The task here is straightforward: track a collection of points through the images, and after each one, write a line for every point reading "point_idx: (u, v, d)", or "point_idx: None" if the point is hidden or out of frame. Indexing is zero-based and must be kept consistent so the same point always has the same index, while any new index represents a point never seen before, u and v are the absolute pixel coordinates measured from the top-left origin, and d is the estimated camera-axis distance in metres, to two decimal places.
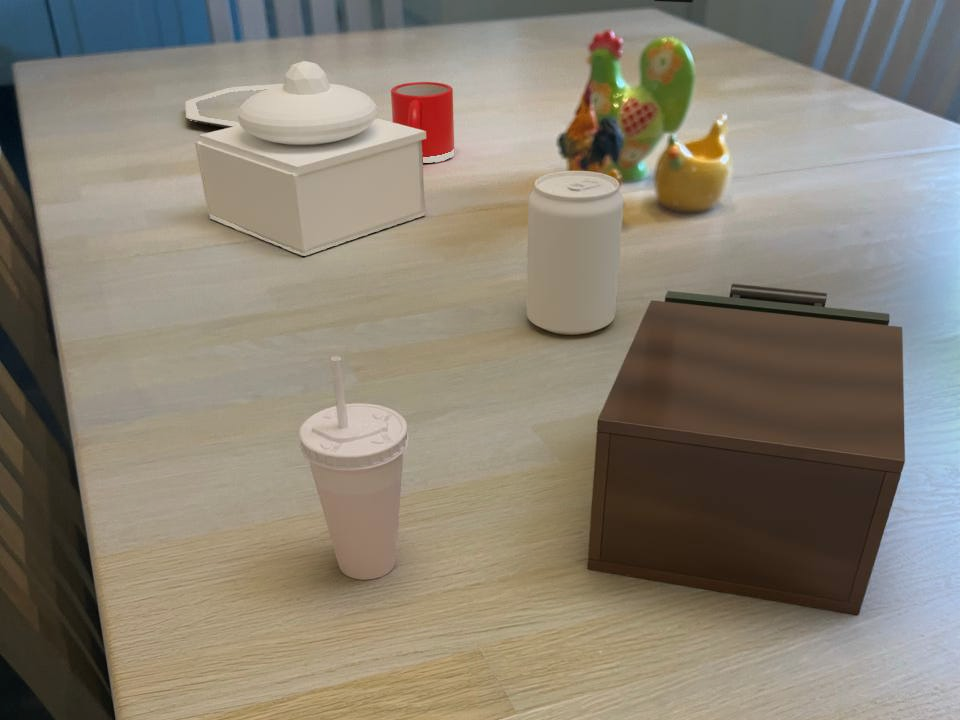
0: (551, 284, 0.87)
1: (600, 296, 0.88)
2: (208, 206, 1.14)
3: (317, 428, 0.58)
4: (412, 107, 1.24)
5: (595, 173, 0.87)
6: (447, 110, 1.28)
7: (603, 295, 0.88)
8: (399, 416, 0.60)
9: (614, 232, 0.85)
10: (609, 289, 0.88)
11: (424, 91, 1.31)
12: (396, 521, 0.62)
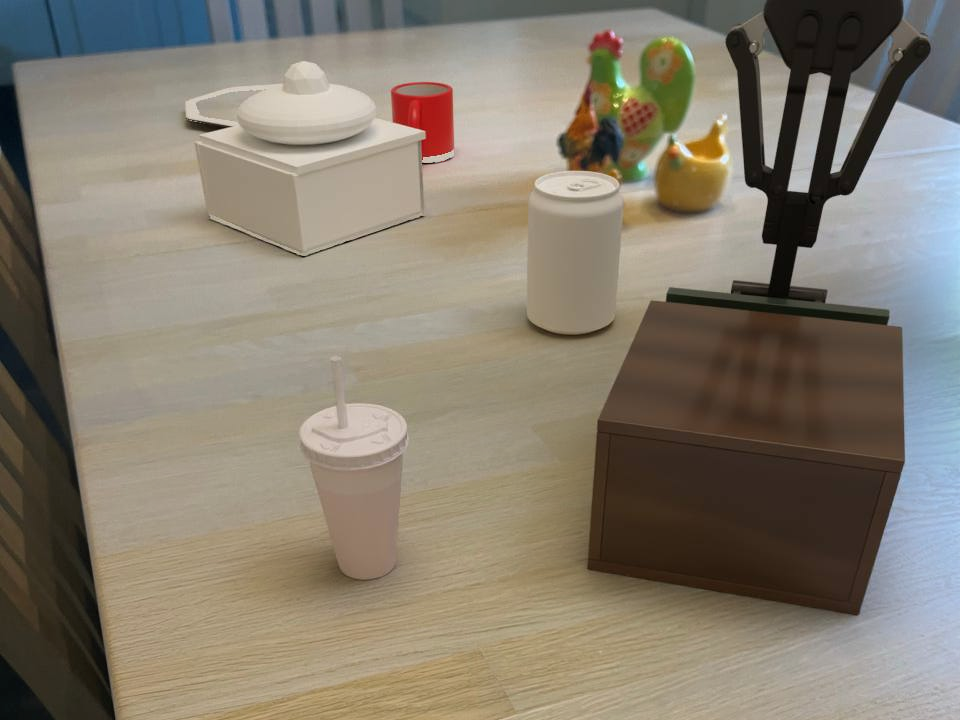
0: (551, 284, 0.87)
1: (600, 296, 0.88)
2: (207, 206, 1.14)
3: (317, 428, 0.58)
4: (412, 107, 1.24)
5: (595, 173, 0.87)
6: (447, 110, 1.28)
7: (603, 295, 0.88)
8: (399, 416, 0.60)
9: (614, 232, 0.85)
10: (609, 289, 0.88)
11: (424, 91, 1.31)
12: (396, 521, 0.62)
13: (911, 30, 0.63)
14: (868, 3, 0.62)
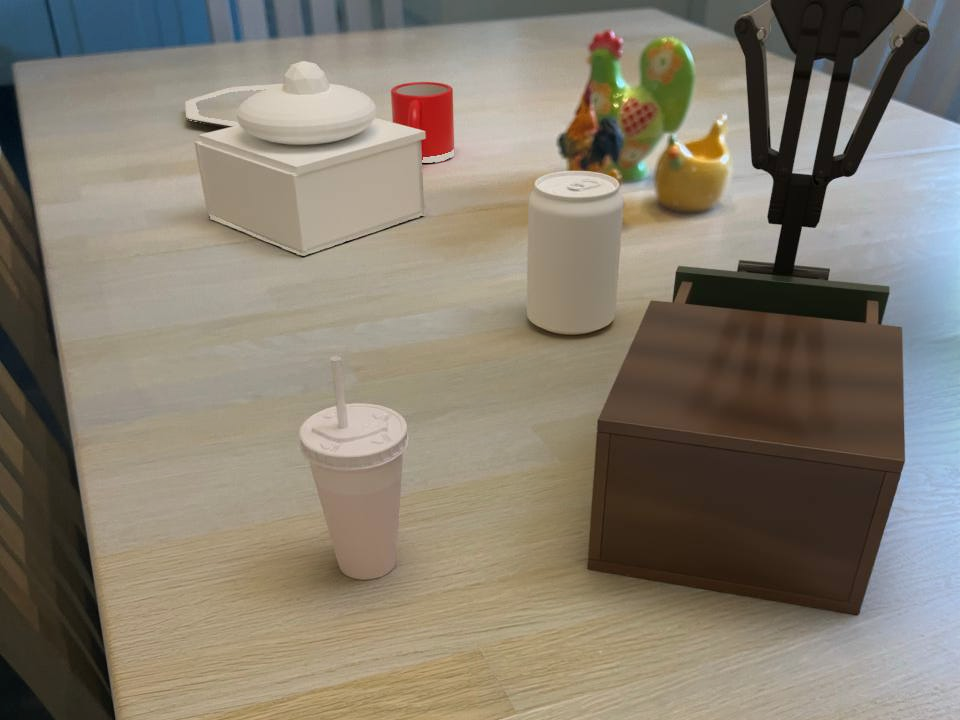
0: (551, 284, 0.87)
1: (600, 296, 0.88)
2: (207, 206, 1.14)
3: (317, 428, 0.58)
4: (412, 107, 1.24)
5: (595, 173, 0.87)
6: (447, 110, 1.28)
7: (603, 295, 0.88)
8: (399, 416, 0.60)
9: (614, 233, 0.85)
10: (609, 289, 0.88)
11: (424, 91, 1.31)
12: (396, 521, 0.62)
13: (911, 18, 0.66)
14: None
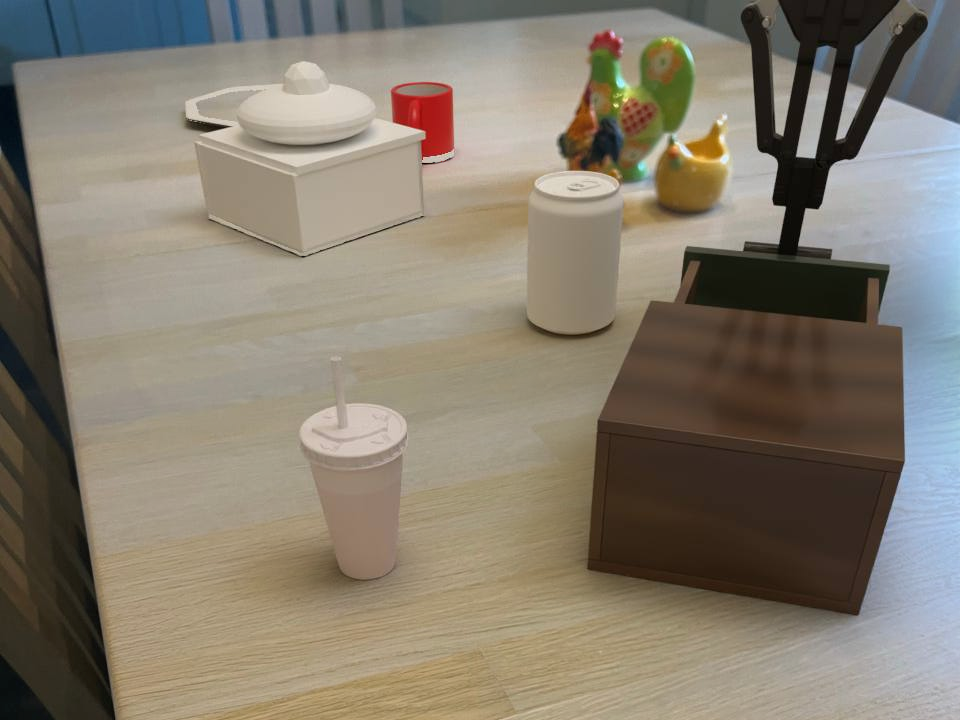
0: (551, 284, 0.87)
1: (600, 296, 0.88)
2: (207, 206, 1.14)
3: (317, 428, 0.58)
4: (412, 107, 1.24)
5: (595, 173, 0.87)
6: (447, 110, 1.28)
7: (603, 295, 0.88)
8: (399, 416, 0.60)
9: (614, 232, 0.85)
10: (609, 289, 0.88)
11: (424, 91, 1.31)
12: (396, 521, 0.62)
13: (910, 6, 0.69)
14: None
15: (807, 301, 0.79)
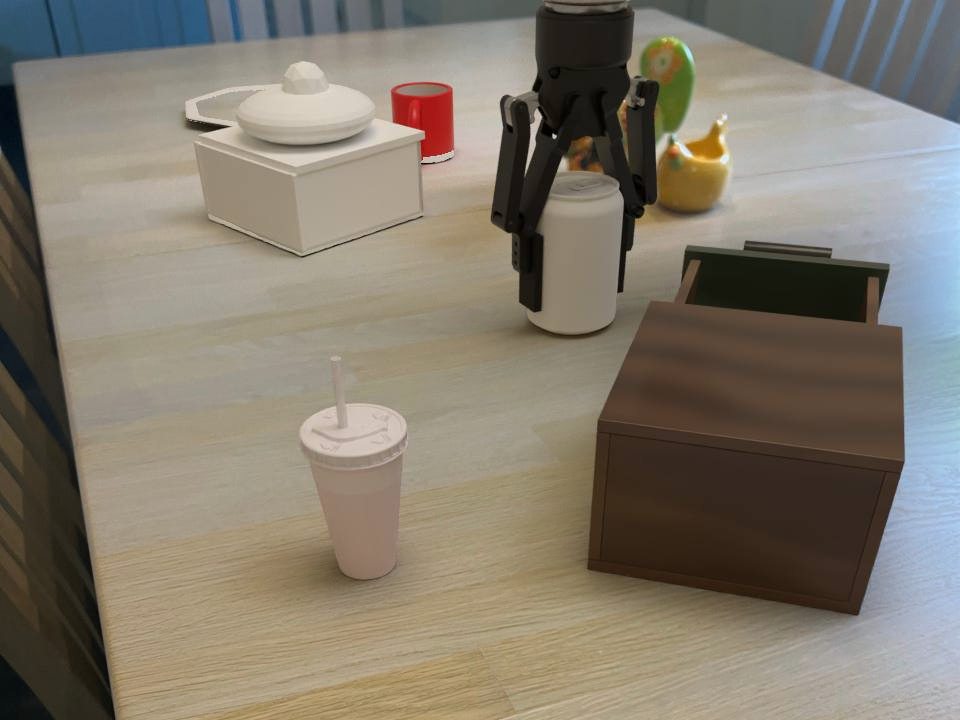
0: (552, 284, 0.87)
1: (600, 296, 0.88)
2: (207, 206, 1.14)
3: (317, 428, 0.58)
4: (412, 107, 1.24)
5: (595, 173, 0.87)
6: (447, 110, 1.28)
7: (604, 295, 0.88)
8: (399, 416, 0.60)
9: (614, 232, 0.85)
10: (609, 289, 0.88)
11: (424, 91, 1.31)
12: (396, 521, 0.62)
13: (637, 81, 0.82)
14: (609, 85, 0.80)
15: (807, 300, 0.79)
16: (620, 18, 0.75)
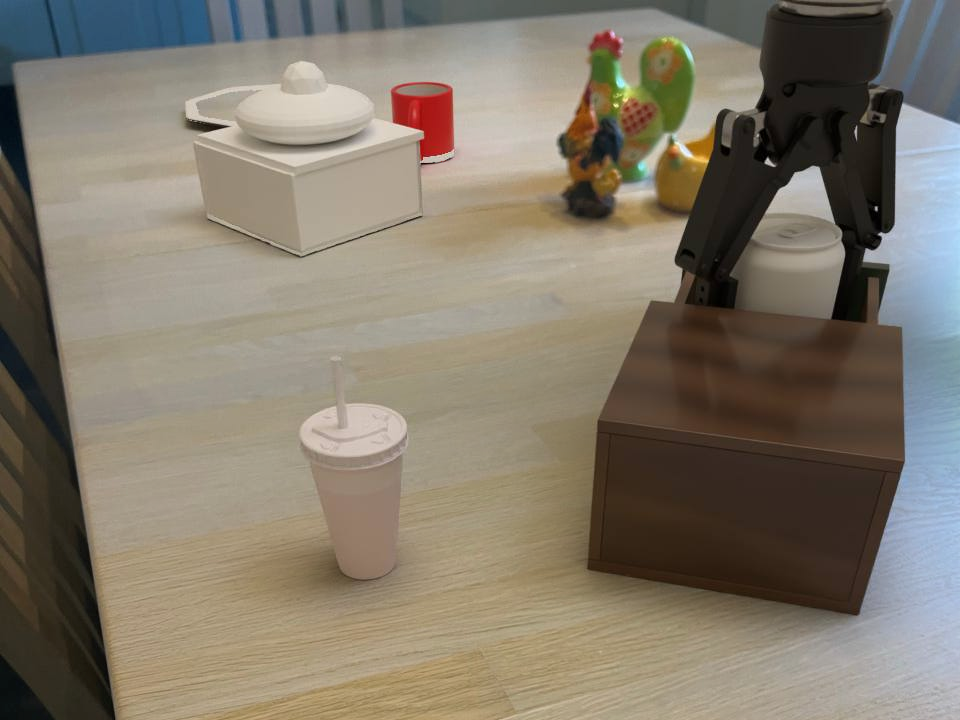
0: None
1: None
2: (206, 206, 1.14)
3: (317, 428, 0.58)
4: (412, 107, 1.24)
5: (805, 216, 0.73)
6: (447, 110, 1.28)
7: None
8: (399, 416, 0.60)
9: (834, 289, 0.71)
10: None
11: (424, 91, 1.31)
12: (396, 521, 0.62)
13: (876, 93, 0.67)
14: (846, 107, 0.65)
15: None
16: (881, 22, 0.60)
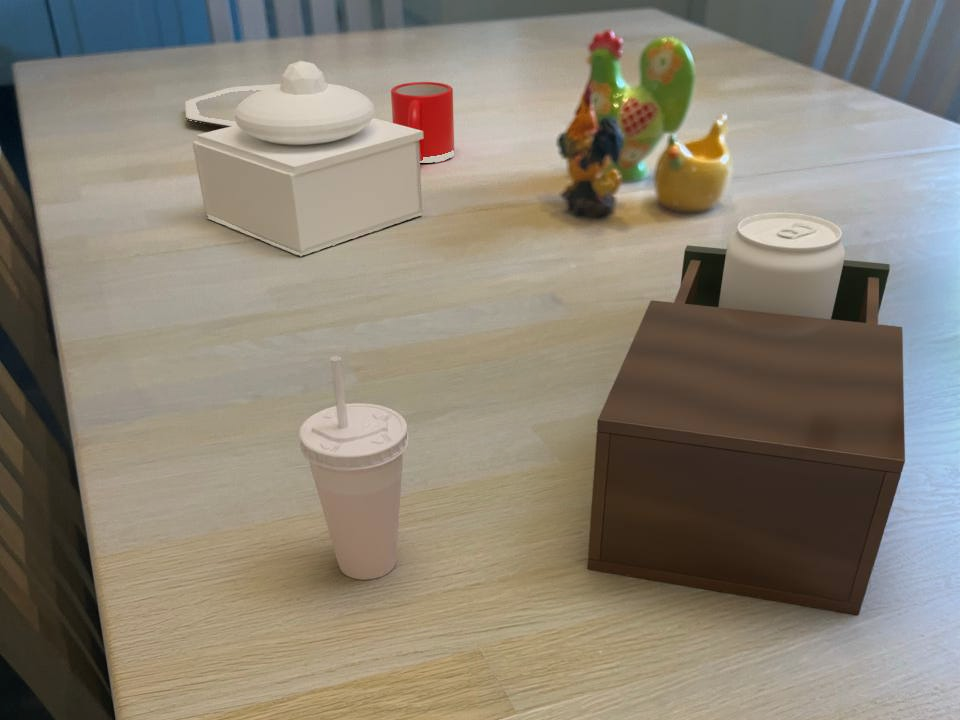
0: None
1: None
2: (205, 206, 1.14)
3: (317, 428, 0.58)
4: (412, 107, 1.24)
5: (805, 216, 0.73)
6: (447, 110, 1.28)
7: None
8: (399, 416, 0.60)
9: (834, 289, 0.71)
10: None
11: (424, 91, 1.31)
12: (396, 521, 0.62)
13: None
14: None
15: None
16: None
